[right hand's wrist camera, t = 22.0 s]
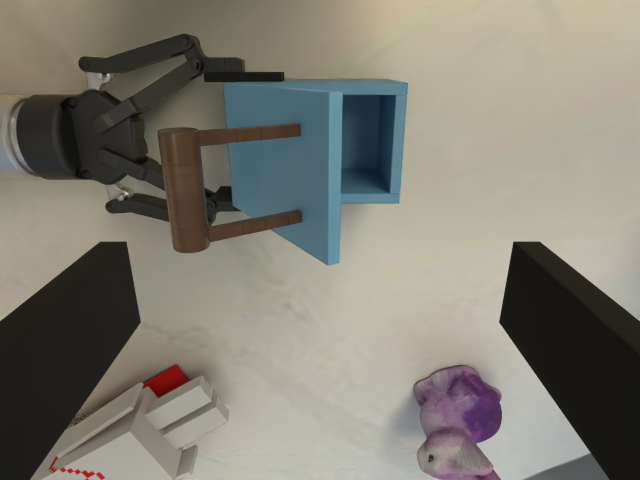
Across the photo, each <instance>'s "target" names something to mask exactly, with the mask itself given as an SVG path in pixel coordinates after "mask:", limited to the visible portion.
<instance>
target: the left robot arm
mask: <svg viewBox="0 0 640 480" xmlns="http://www.w3.org/2000/svg"><path fill="white" fill-rule="evenodd" d="M183 54H185V56H186V59H187V62H185V63H183V64H182V65H180V66H179V67H177V68H176V69H174V70H173V71H171V72H170V73H168V74H166V75H165V76H163V77H162V78H160V79H159V80H157V81H156V82H154V83H152V84H151V85H149V86H148V87H146V88H145V89H143V90H142V91H140V92H139V93H137V94H135V95H134V96H132V97H130V98H128V99H126V100H124V101H123V102H121V101H120V100H118V99H117V98H115V97H114V96H112V95H111V94H109V93H108V92H106V91H104V86H105V84H107V83H110V82H112V81H113V80H114V78H115V73H124V72H128V71H131V70H135V69H138V68H141V67H144V66H147V65H151V64H154V63H157V62H160V61H164V60H167V59H170V58H173V57H176V56H180V55H183ZM79 67H80V68H81V70H83V71H85V72H86V79H87V88H88V90H86V91H84V92H83V93H81V94H79V95H33V96H28V95H0V179H13V180H39V179H43V178H44V179H48V180H95V181H98V182H100V183H102V184H105V186H106V189H107V193H108V197H109V202H107V203H106V210H107V211H108V212H109V213H113V214H114V213H127V212H132V213H136V214H140V215H144V216H148V217H152V218H156V219H160V220H164V221H168V222H170V221H169V213H168V206H167V200H166V199H162V198H158V197H154V196H150V195H146V194H139V193H134V192H133V190H132V189H130V188H126V187H123V186H122V185H121V184H120V180H121V179H123V178H124V177H125V176H126V175H130V176H132V177H134V178H136V179H138V180H141V181H146V182H148V183H150V184H152V185H154V186H156V187H158V188H160V189H162V190H164V191H165V184H164V177H163V169H162V165H160V164H159V163H158V162H157V161H156V160H154V159H152V158H150V157H148V156H146V154H147V153H148V149H147V144H146V142H145V139H144V121H143V119H141V118H140V116H139V115H140V114H142V113H143V112H145V111H147V110H148V109H150V108H151V107H152V106H153V105H155V104H156V103H158V102H160V101H161V100H163V99H164V98H166V97H167V96H169V95H171V94H172V93H174V92H175V91H177V90H179V89H180V88H182V87H183V86H185V85H186V84H188V83H190V82H191V81H193V80H194V79H196V78H197V77H199V76H201V75H202V74H204V81H205V82H282V81H284V72H245V63H244V60H242V59H240V58H209V57H207V56H205V54H204V53H203V51H202V49H201V47H200V41H199V39H198V38H197V37H195V36H192V35H188V34H181V35H178V36H174V37H171V38H168V39H165V40H162V41H159V42H155V43H152V44H149V45H146V46H143V47H140V48H136V49H133V50H130V51H127V52H124V53H121V54H117V55H114V56H111V57H108V58H102V57H81V58H80V59H79ZM204 189H205V199H206V209H207V219H208V227H211V225H212V224H213V222H214V221H215V219H216V214H217V212H219V211H241V210H239V209H237V208H236V207H234V206H233V200H232V188H231V186H221V187H220V188H219V189H218V190H217V192H216V193H214V192H212V191H210V190H208V189H206V188H204Z"/></svg>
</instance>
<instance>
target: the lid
mask: <svg viewBox="0 0 640 480" xmlns="http://www.w3.org/2000/svg"><path fill="white" fill-rule="evenodd" d="M224 97H225V110H226V123H227V129H214V130H201V131H198V129H195V128H167V129H161V130H159V131H158V140H159V147H160V155H161V162H162V169H163V177H164V184H165V191H166V199H167V206H168V213H169V221H170V228H171V236H172V243H173V249H174V250H175V251H177V252H180V253H195V252H200V251H203V250H205V249H207V248H208V247H209V246H210V242H213V241H218V240H222V239H227V238H232V237H236V236H241V235H246V234H250V233H255V232H260V231H264V230H269V229H271V230H272V231H274V232H275V233H277V234H279V235H280V236H282V237H283V238H285V239H287V240H288V241H290V242H291V243H293V244H294V245H296V246H298V247H299V248H301V249H302V250H304V251H306V252H307V253H309V254H310V255H312V256H313V257H315V258H317V259H318V260H320V261H321V262H323V263H325V264H326V265H328V266H329V265H333V264H336V263H339V259H340V205H341V151H342V97H343V93H342V92H341V91H328V90H315V89H303V88H290V87H277V86H264V85H251V84H238V83H224ZM227 143H228V149H229V162H230V175H231V188H232V200H233V206H234V207H236V208H237V209H239V210H241V211H242V212H244V213H245V214H247V215H249V216H250V217H252V219H246V220H241V221H236V222H231V223H226V224H221V225H216V226H211V227H208V219H207V209H206V199H205V189H204V179H203V170H202V160H201V150H200V146H207V145H217V144H227Z"/></svg>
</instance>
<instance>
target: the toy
mask: <svg viewBox="0 0 640 480" xmlns="http://www.w3.org/2000/svg"><path fill="white" fill-rule="evenodd" d="M212 396H213V389H212V388H211V386H210V385H209V384H208V382H207V381H206V380H205V379H204V377H203V376H202V375H200V376H198V377H196V378H195V379H193V380H191V381H189V380H188V378H187V377H186V376H185V375H184V374H183V372H182V371H181V370H180V369H179V368H178V366H177V365H175V366H173V367H171V368H170V369H168V370H166V371H165V372H163V373H161V374H160V375H158V376H156V377H154V378H153V379H151V380H149V381H148V382H146V383H144V384H143V383H142V382H139V383H138V384H136V385H135V386H133V387H132V388H130V389H129V390H127V391H126V392H124V393H123V394H121V395H120V396H118V397H117V398H115V399H114V400H113V401H111V402H110V403H108V404H107V405H105V406H104V407H102V408H101V409H99V410H98V411H96V412H95V413H93V414H92V415H90V416H89V417H87V418H85V419H84V420H82V421H81V422H80V423H78V424H77V425H73V426H71V427H69V428H67V429H65V431H64V432H63V434H62V435H61V437H60V438H59V439H58V441H57V442H56V444H55V445H54V447H53V448H52V449H51V451H50V452H49V454H48V455H47V457H46V458H45V459H44V461H43V462H42V464H41V465H40V467H39V468H38V469H37V471H36V472H35V474H34V475H33V476H32V478H31V479H30V480H180V479H182V478H185V477H187V476H189V475H192V473H193V468H194V464H195V460H196V456H197V452H198V446H197V445H195V446H192V447H190V448H188V449H186V450H183V451H182V449H183V446H185V445H187V444H188V443H190V442H192V441H194V440H196V439H198V438H200V437H201V436H203V435H205V434H207V433H209V432H211V431H212V430H214V429H216V428H218V427H220V426H222V425H224V424H225V423H227V422H228V417H229V410H228V408H227V407H226V406H225V404H224V403H223V402H222V400H221V399H220V398H219V397H218V396H216V397H214V398H212Z"/></svg>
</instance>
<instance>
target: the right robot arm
mask: <svg viewBox="0 0 640 480" xmlns="http://www.w3.org/2000/svg"><path fill="white" fill-rule="evenodd" d="M140 323H141V321H140V315H139V310H138V304H137V299H136V293H135V287H134V282H133V276H132V270H131V265H130V259H129V254H128V248H127V242H99V243H98V244H97V245H96V246H94V247H93V248H92V249H91V250H89V251H88V252H87V253H85V254H84V255H83V256H82V257H80V258H79V259H78V260H77V261H75V262H74V263H73V264H72V265H70V266H69V267H68V268H67V269H65V270H64V271H63V272H62V273H60V274H59V275H58V276H57V277H55V278H54V279H53V280H52V281H50V282H49V283H48V284H47V285H45V286H44V287H43V288H41V289H40V290H39V291H38V292H36V293H35V294H34V295H33V296H31V297H30V298H29V299H28V300H26V301H25V302H24V303H23V304H21V305H20V306H19V307H18V308H16V309H15V310H14V311H13V312H11V313H10V314H9V315H8V316H6V317H5V318H4V319H3V320H1V321H0V480H30V479H31V478H32V476H33V475H34V474H35V472H36V471H37V469H38V468H39V467H40V465H41V464H42V462H43V461H44V459H45V458H46V457H47V455H48V454H49V452H50V451H51V449H52V448H53V447H54V445H55V444H56V442H57V441H58V439H59V438H60V437H61V435H62V434H63V432H64V431H65V429H66V428H67V427H68V425H69V424H70V422H71V421H72V419H73V418H74V417H75V415H76V414H77V412H78V411H79V410H80V408H81V407H82V405H83V404H84V402H85V401H86V400H87V398H88V397H89V395H90V394H91V392H92V391H93V390H94V388H95V387H96V385H97V384H98V382H99V381H100V380H101V378H102V377H103V375H104V374H105V372H106V371H107V370H108V368H109V367H110V365H111V364H112V363H113V361H114V360H115V358H116V357H117V355H118V354H119V353H120V351H121V350H122V348H123V347H124V345H125V344H126V343H127V341H128V340H129V338H130V337H131V335H132V334H133V333H134V331H135V330H136V328H137V327H138V325H139V324H140ZM499 323H500V324H501V325H502V327H503V328H504V330H505V331H506V333H507V334H508V335H509V337H510V338H511V340H512V341H513V343H514V344H515V345H516V347H517V348H518V350H519V351H520V353H521V354H522V355H523V357H524V358H525V360H526V361H527V363H528V364H529V365H530V367H531V368H532V370H533V371H534V373H535V374H536V375H537V377H538V378H539V380H540V381H541V382H542V384H543V385H544V387H545V388H546V390H547V391H548V392H549V394H550V395H551V397H552V398H553V400H554V401H555V402H556V404H557V405H558V407H559V408H560V410H561V411H562V412H563V414H564V415H565V417H566V418H567V420H568V421H569V422H570V424H571V425H572V427H573V428H574V429H575V431H576V432H577V434H578V435H579V437H580V438H581V439H582V441H583V442H584V444H585V445H586V447H587V448H588V449H589V451H590V452H591V454H592V455H593V457H594V458H595V459H596V461H597V462H598V464H599V465H600V466H601V468H602V469H603V471H604V472H605V474H606V475H607V476H608V478H609V479H610V480H640V321H639V320H637V319H636V318H635V317H634V316H632V315H631V314H630V313H629V312H627V311H626V310H625V309H624V308H622V307H621V306H620V305H619V304H617V303H616V302H615V301H614V300H612V299H611V298H610V297H609V296H607V295H606V294H605V293H604V292H602V291H601V290H600V289H599V288H597V287H596V286H595V285H593V284H592V283H591V282H590V281H588V280H587V279H586V278H585V277H583V276H582V275H581V274H580V273H578V272H577V271H576V270H575V269H573V268H572V267H571V266H570V265H568V264H567V263H566V262H565V261H563V260H562V259H561V258H560V257H558V256H557V255H556V254H555V253H553V252H552V251H551V250H549V249H548V248H547V247H546V246H544V245H543V244H542V243H541V242H513V248H512V254H511V259H510V265H509V270H508V276H507V282H506V287H505V293H504V299H503V304H502V310H501V315H500V321H499Z"/></svg>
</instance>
